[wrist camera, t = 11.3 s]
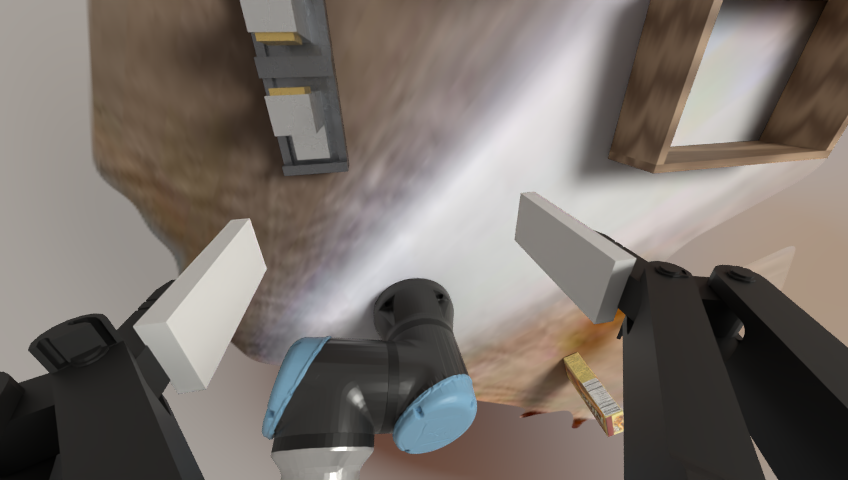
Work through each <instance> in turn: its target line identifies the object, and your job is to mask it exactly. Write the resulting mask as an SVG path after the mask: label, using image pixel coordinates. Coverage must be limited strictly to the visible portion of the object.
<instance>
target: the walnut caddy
mask: <svg viewBox="0 0 848 480" xmlns="http://www.w3.org/2000/svg"><path fill="white" fill-rule="evenodd" d="M825 1H828V2H827V4H826V6H825V8H824V10H823V12H822V14H821V16H820V18H819V20H818V22H817V24H816V26H815V28H814V30H813V32H812V34H811V36H810V38H809V40H808V42H807V44H806V46H805V48H804V50H803V52H802V54H801V56H800V58H799V60H798V62H797V64H796V66H795V68H794V70H793V72H792V74H791V76H790V78H789V80H788V82H787V85H786V87H785V89H784V91H783V93H782V95H781V97H780V99H779V101H778V103H777V105H776V107H775V109H774V111H773V113H772V115H771V117H770V119H769V121H768V123H767V125H766V127H765V129H764V131H763V133H762V135H761V137H760V139H759V140H756V141H743V142H729V143H716V144H702V145H689V146H675V147H670V146H671V143H672V140H673V137H674V135H675V132H676V129H677V126H678V123H679V121H680V118H681V115H682V112H683V110H684V107H685V104H686V101H687V99H688V96H689V93H690V90H691V88H692V85H693V82H694V79H695V76H696V74H697V71H698V68H699V65H700V63H701V60H702V57H703V54H704V52H705V49H706V46H707V43H708V41H709V38H710V35H711V32H712V29H713V27H714V24H715V21H716V18H717V16H718V13H719V10H720V7H721V5H722V2H723V0H650V4H649V8H648V11H647V15H646V19H645V23H644V26H643V30H642V34H641V37H640V41H639V45H638V49H637V52H636V56H635V60H634V63H633V67H632V71H631V75H630V78H629V82H628V86H627V90H626V93H625V97H624V101H623V104H622V108H621V112H620V116H619V119H618V123H617V127H616V130H615V134H614V138H613V142H612V145H611V149H610V153H609V157H608V159H611V160H614V161H617V162H620V163H623V164H626V165H629V166H632V167H635V168H638V169H641V170H645V171H648V172H651V173H663V172H674V171H686V170H697V169H708V168H720V167H731V166H742V165H753V164H765V163H776V162H787V161H799V160H810V159H821V158H828V156H829V154H830V153H831V151H832V149H833V148H834V146H835V145H836V143H837V141H838V140H839V138H840V137H841V135H842V133H843V132H844V130H845V128H846V127H847V125H848V0H825Z"/></svg>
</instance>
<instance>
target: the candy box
mask: <svg viewBox="0 0 848 480" xmlns="http://www.w3.org/2000/svg"><path fill="white" fill-rule="evenodd" d="M563 359H564V363H565V368H566V372H567V376H568V378H569V380H570V381H571V382H572V384H573V385H574V387H575V388H576V390H577V391H578V393H579V394H580V396H581V397H582V399H583V400H584V402H585V403H586V405H587V406H588V408H589V409H590V411H591V412H592V414H593V415H594V417H595V418H596V420H597V421H598V423H599V424H600V426H601V427H602V429H603V430H604V432H605V433H606V434H607V436H608V437H609V436H612V435H615V434H618V433H620V432H622V431H624V418H623V411H622V409H621V408H620V407H619V405H618V404H617V403H616V402H615V400H614V399H613V398H612V396H611V395H610V394H609V393H608V391H607V390H606V389H605V387H604V386H603V385H602V383H601V382H600V381H599V380H598V378H597V377H596V376H595V374H594V373H593V372H592V370H591V369H590V368H589V367H588V365H587V364H586V363H585V361H584V360H583V359H582V357H581V356H580V355H579V353H577V352H576V353H574V354H572V355H570V356H567V357H565V358H563Z"/></svg>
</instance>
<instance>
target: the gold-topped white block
mask: <svg viewBox="0 0 848 480" xmlns="http://www.w3.org/2000/svg"><path fill="white" fill-rule="evenodd" d="M269 93H270V95H268V96H264V97H265V101H266V105H267V109H268V113H269V116H270V120H271V124H272V128H273V132H274V135H275V136H289V135H292V139H293V143H294V147H295V152H296V156H297V160H307V159H321V158H330V157H331V149H330V143H329V137H328V132H327V126H326V121H325V115H324V110H323V104H322V98H321V93H320V91H311V88H310V86H305V87H279V88H269Z"/></svg>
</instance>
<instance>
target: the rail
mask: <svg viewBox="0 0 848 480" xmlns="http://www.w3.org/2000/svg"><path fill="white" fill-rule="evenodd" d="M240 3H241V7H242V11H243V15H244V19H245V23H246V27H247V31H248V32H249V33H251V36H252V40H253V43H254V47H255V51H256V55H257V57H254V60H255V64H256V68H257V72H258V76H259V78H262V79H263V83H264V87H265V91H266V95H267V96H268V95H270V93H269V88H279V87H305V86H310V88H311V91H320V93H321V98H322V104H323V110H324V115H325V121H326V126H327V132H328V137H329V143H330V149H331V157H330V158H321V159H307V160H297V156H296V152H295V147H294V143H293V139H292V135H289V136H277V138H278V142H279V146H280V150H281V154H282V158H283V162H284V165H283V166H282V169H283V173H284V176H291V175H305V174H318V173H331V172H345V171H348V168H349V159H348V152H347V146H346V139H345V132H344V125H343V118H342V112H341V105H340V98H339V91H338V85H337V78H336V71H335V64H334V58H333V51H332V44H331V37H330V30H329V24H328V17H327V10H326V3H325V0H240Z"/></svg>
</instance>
